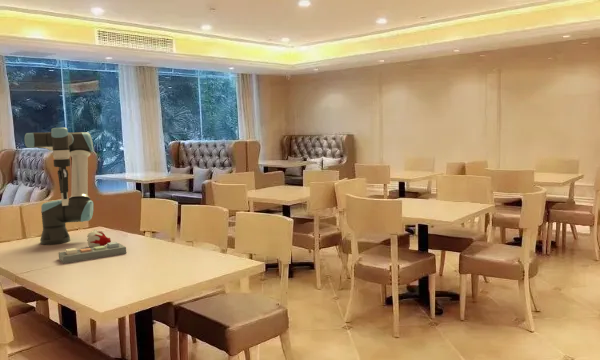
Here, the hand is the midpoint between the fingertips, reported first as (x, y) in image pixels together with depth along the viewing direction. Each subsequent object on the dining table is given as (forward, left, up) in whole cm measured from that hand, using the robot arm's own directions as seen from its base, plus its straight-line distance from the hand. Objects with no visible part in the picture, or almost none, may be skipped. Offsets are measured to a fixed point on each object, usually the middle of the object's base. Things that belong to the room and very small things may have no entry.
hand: (65, 205), depth 256 cm
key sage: (+17, +11, -23) cm, 31 cm away
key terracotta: (+17, +4, -23) cm, 29 cm away
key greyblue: (+17, +17, -22) cm, 33 cm away
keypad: (+17, +8, -24) cm, 31 cm away
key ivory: (+17, -2, -22) cm, 28 cm away
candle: (-2, +15, -25) cm, 29 cm away
